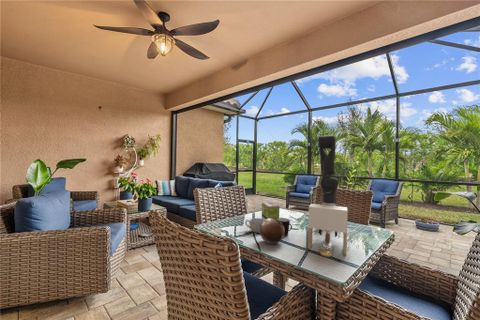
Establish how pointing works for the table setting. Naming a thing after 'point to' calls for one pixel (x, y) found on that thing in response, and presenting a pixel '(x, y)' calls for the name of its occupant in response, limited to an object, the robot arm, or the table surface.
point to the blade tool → (327, 242)
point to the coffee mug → (285, 225)
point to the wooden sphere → (272, 230)
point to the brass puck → (326, 253)
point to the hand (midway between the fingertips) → (328, 235)
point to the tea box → (270, 210)
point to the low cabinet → (328, 221)
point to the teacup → (255, 224)
